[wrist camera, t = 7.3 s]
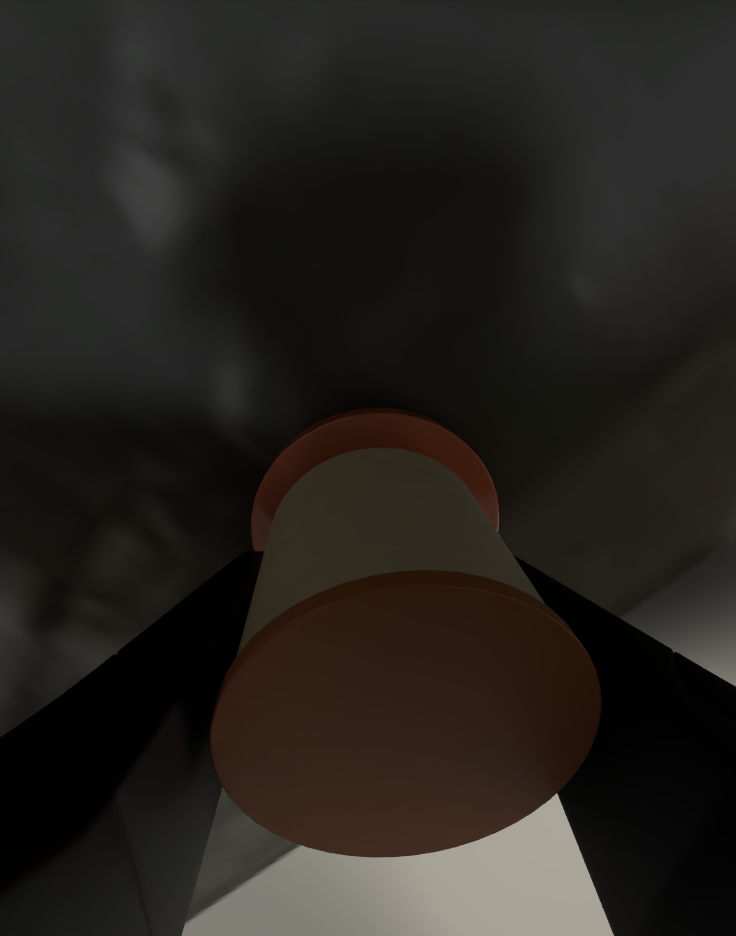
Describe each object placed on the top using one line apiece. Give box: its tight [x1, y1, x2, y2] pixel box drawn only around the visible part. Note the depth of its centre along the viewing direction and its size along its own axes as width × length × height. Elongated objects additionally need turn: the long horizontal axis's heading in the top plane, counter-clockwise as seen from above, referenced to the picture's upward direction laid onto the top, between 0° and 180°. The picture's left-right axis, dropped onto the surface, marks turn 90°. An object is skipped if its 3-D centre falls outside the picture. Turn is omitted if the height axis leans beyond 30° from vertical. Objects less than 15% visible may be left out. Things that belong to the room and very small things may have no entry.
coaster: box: [251, 408, 499, 552], centre depth 11 cm, size 6×6×1 cm
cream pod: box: [209, 448, 602, 857], centre depth 8 cm, size 5×5×5 cm
